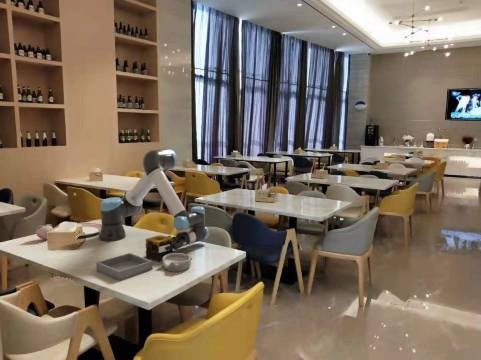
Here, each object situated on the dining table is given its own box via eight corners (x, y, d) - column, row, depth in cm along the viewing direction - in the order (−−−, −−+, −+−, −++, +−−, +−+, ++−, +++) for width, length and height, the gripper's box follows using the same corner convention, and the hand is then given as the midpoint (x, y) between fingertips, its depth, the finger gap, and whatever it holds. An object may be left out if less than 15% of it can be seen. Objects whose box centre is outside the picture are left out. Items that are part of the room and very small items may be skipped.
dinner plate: (114, 231, 251) (114, 225, 251) (77, 241, 228) (77, 236, 227) (86, 225, 265) (85, 220, 265) (48, 234, 242) (48, 229, 241)
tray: (96, 270, 183) (96, 262, 182) (129, 260, 196) (129, 253, 196) (119, 280, 171) (118, 272, 171) (152, 269, 185) (152, 261, 184)
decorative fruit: (42, 243, 224) (41, 225, 223) (34, 240, 228) (32, 224, 227) (57, 239, 232) (56, 222, 231) (48, 236, 236) (47, 220, 235)
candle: (158, 262, 195) (158, 242, 193) (145, 257, 201) (144, 238, 199) (173, 256, 203) (173, 237, 201) (160, 252, 209) (160, 234, 207)
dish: (179, 274, 179) (179, 264, 179) (155, 269, 186) (155, 258, 185) (197, 264, 192) (197, 255, 191) (175, 260, 198) (175, 250, 198)
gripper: (200, 249, 208) (167, 260, 191) (171, 240, 222) (139, 250, 205) (200, 235, 207) (167, 245, 190) (171, 227, 221) (138, 236, 204)
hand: (152, 247), depth 198 cm, fingers closed on candle, 10 cm apart
